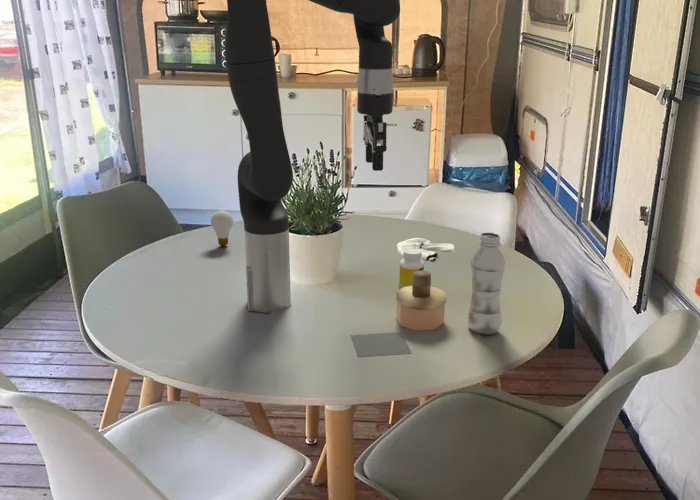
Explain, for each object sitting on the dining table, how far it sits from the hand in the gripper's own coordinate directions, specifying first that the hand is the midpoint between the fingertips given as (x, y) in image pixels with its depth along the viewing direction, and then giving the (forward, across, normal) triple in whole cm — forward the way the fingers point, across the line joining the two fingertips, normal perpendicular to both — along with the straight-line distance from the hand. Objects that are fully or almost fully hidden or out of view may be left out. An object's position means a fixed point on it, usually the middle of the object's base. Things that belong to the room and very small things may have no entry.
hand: (374, 166), depth 149 cm
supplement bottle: (+28, +5, +8) cm, 30 cm away
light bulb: (+28, -34, -35) cm, 56 cm away
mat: (+28, +31, -4) cm, 42 cm away
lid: (+23, +22, +6) cm, 32 cm away
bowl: (+28, +22, +6) cm, 36 cm away
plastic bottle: (+28, +27, +18) cm, 43 cm away
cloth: (+29, -22, +19) cm, 41 cm away
